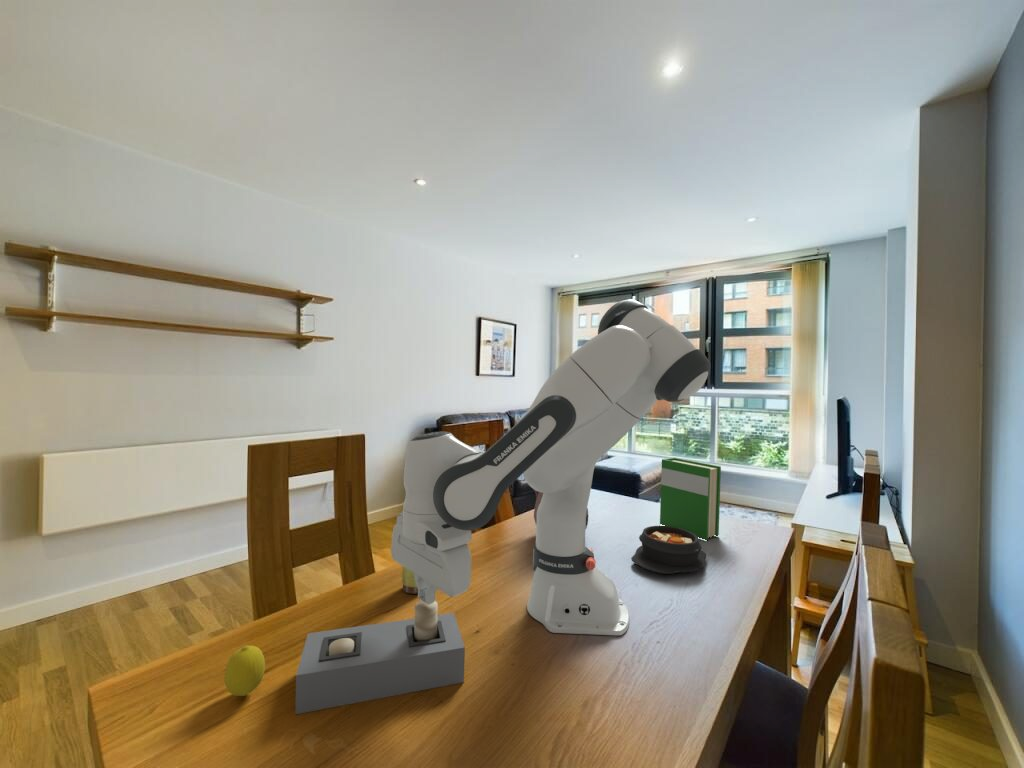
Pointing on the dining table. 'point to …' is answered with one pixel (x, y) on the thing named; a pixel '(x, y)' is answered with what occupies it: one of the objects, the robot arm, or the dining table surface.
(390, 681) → the peg block
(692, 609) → the dining table surface
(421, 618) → the peg inner
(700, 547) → the casserole
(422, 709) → the dining table surface
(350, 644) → the peg outer
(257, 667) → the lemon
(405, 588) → the sauce bottle
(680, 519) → the hardback book
